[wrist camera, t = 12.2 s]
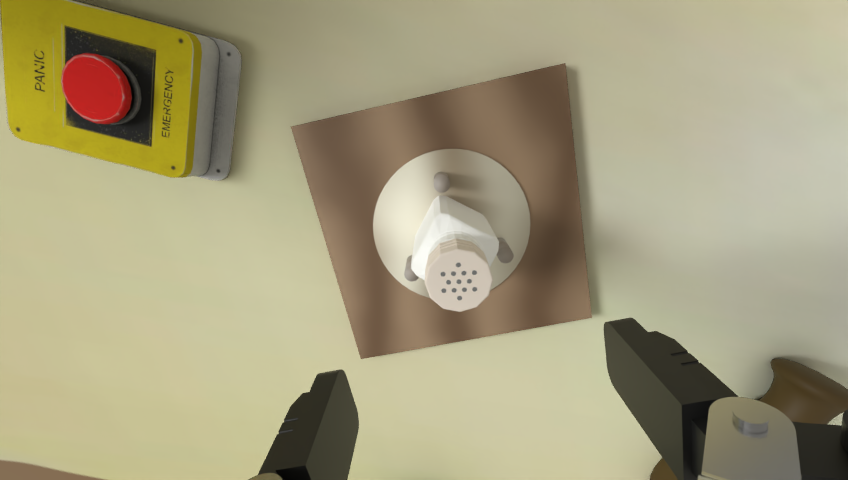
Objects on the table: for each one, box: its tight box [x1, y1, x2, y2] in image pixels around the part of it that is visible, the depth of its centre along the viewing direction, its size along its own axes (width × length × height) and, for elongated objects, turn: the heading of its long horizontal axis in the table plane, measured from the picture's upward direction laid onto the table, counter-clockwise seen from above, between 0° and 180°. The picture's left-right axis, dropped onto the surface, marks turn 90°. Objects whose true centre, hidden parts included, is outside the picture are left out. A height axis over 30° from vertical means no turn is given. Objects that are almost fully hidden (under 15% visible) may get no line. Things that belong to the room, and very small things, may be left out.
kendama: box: [650, 359, 848, 480], centre depth 32 cm, size 6×10×20 cm
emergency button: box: [0, 0, 242, 180], centre depth 25 cm, size 9×4×15 cm
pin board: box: [291, 63, 592, 359], centre depth 27 cm, size 18×18×4 cm
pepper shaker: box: [411, 195, 499, 312], centre depth 23 cm, size 4×4×10 cm
